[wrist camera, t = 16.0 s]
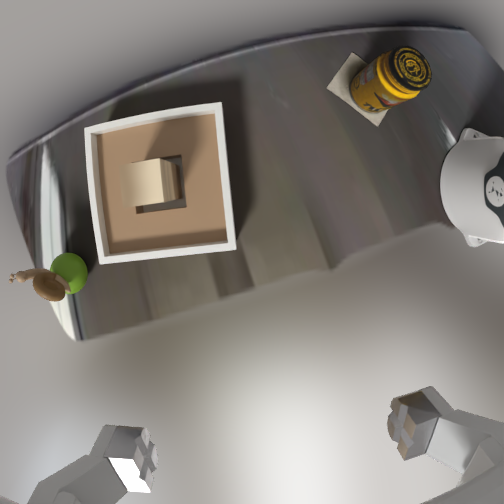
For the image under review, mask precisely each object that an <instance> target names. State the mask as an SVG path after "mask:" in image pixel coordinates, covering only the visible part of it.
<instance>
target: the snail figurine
mask: <svg viewBox="0 0 504 504" xmlns="http://www.w3.org/2000/svg"><path fill="white" fill-rule="evenodd" d="M87 276H88V272H87V267H86V264H85V262H84V261H83V260H82V258H81V257H79V256H78V255H76V254H74V253H63V254H61V255H59V256H58V257H56V258H55V260H54V261H53V262H52V265H51V268H50V271H49V270H47V269H41V268H37V269H30V270H26V271H19V272H17V274H16V278H15V279H17V280H18V281H19V282H25V281H26V280H29V279H33V287H34V289H35V291H36V292H37V293H38V294H39V295H40V296H41V297H43V298H44V299H46V300H49V301H60V300H62V299H63V298H64V297H65V293H66V294H73V293H76V292H78V291H79V290H81V289H82V288H83V286H84V285H85V283H86V281H87ZM10 278H14V275H13V274H11V275H10ZM13 280H14V279H9V283H12V282H13Z"/></svg>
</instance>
